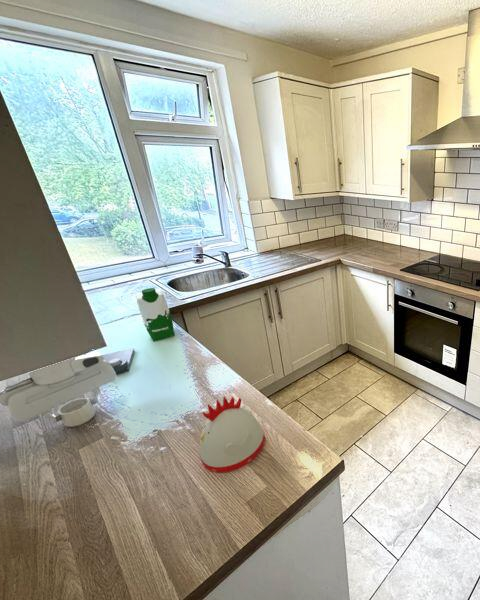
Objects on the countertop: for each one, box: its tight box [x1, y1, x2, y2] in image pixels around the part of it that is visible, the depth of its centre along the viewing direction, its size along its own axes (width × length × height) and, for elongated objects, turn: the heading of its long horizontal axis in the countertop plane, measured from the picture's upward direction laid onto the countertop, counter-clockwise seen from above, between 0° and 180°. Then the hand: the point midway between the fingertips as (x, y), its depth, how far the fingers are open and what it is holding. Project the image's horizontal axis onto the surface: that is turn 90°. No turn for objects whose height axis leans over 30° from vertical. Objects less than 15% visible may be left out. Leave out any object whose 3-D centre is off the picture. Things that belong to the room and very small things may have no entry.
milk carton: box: [135, 287, 175, 343], centre depth 126 cm, size 9×9×20 cm
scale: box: [101, 347, 136, 375], centre depth 109 cm, size 16×15×3 cm
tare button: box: [109, 358, 121, 367], centre depth 107 cm, size 3×3×2 cm
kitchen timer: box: [199, 396, 265, 473], centre depth 77 cm, size 14×14×15 cm
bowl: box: [56, 397, 96, 428], centre depth 87 cm, size 6×6×5 cm
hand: (77, 411), depth 87 cm, fingers closed on bowl, 6 cm apart
